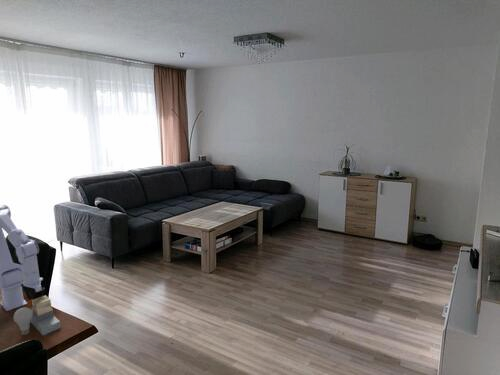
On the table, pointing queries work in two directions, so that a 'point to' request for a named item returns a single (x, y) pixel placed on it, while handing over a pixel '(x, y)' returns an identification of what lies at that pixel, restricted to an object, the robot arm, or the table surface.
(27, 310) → the lightbulb
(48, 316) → the steps
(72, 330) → the table surface
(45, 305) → the birch cube
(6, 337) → the table surface
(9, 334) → the table surface
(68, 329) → the table surface
